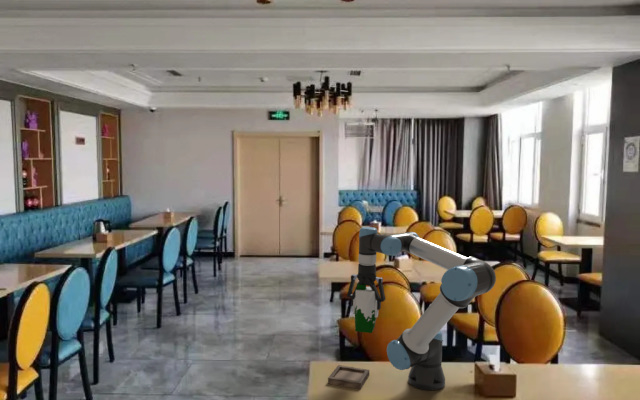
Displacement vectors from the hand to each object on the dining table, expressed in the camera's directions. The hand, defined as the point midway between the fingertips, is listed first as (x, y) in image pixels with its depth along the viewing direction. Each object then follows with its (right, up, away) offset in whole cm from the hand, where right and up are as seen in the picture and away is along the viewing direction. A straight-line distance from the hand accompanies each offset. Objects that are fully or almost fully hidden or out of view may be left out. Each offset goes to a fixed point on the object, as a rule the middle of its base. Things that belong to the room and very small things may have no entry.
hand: (365, 315), depth 227 cm
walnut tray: (-7, -26, -4) cm, 28 cm away
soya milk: (0, -7, +1) cm, 7 cm away
